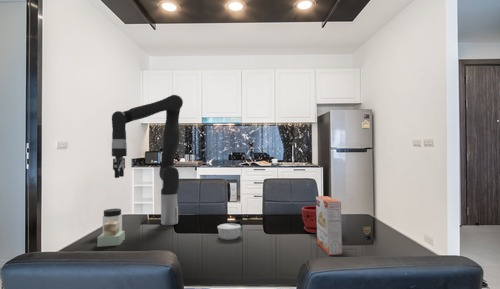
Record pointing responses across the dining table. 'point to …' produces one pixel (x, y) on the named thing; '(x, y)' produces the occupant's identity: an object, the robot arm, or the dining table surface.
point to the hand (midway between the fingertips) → (119, 177)
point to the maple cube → (111, 228)
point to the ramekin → (229, 231)
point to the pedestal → (111, 239)
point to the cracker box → (329, 225)
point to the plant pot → (312, 221)
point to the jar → (112, 217)
